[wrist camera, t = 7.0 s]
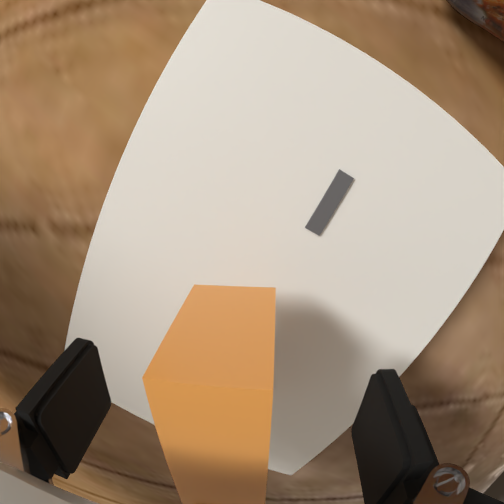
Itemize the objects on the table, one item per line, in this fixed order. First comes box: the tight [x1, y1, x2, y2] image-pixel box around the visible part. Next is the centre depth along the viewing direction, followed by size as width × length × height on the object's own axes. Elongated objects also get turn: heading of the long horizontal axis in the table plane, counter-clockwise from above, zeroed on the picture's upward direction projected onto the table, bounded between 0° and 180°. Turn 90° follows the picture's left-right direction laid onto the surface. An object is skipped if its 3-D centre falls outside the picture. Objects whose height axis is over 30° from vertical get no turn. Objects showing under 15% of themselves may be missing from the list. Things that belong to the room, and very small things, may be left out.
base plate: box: [64, 0, 504, 475], centre depth 12 cm, size 15×20×4 cm
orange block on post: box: [142, 284, 276, 504], centre depth 9 cm, size 7×2×5 cm, turn 0°
